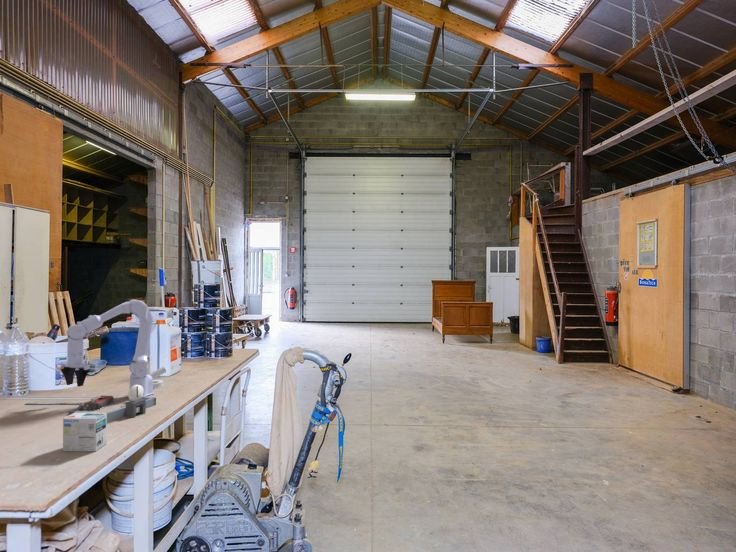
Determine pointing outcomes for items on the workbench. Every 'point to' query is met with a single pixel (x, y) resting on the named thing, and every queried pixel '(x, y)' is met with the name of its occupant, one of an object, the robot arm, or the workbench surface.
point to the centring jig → (131, 404)
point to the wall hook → (155, 374)
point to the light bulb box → (84, 431)
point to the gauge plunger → (136, 408)
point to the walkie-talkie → (95, 403)
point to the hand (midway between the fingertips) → (75, 385)
